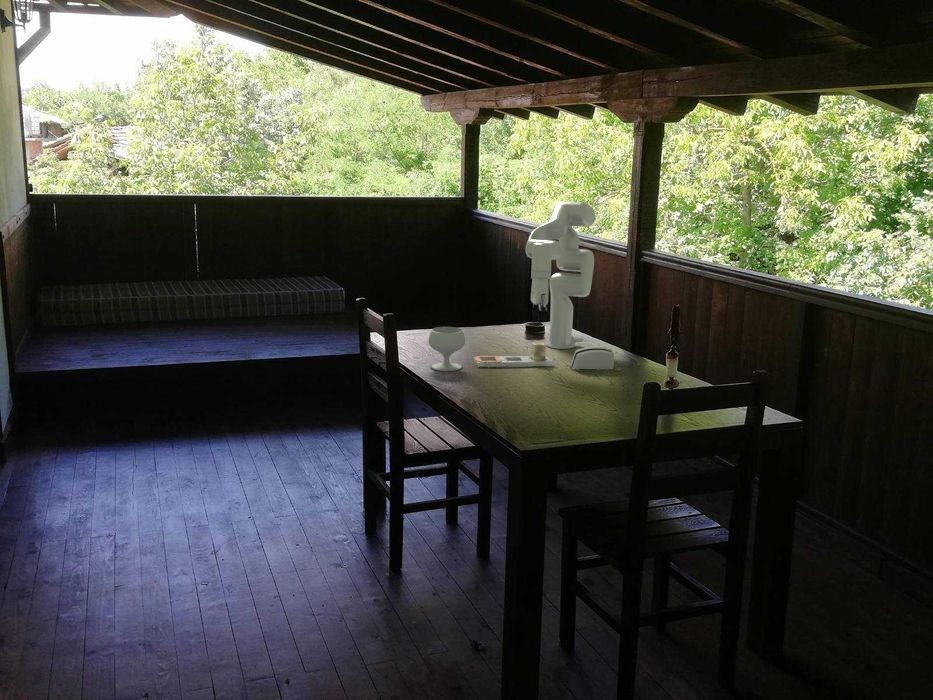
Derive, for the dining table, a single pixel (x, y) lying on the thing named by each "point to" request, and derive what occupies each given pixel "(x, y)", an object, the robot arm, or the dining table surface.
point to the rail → (511, 361)
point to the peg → (538, 351)
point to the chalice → (446, 345)
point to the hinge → (593, 358)
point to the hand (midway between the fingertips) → (539, 318)
